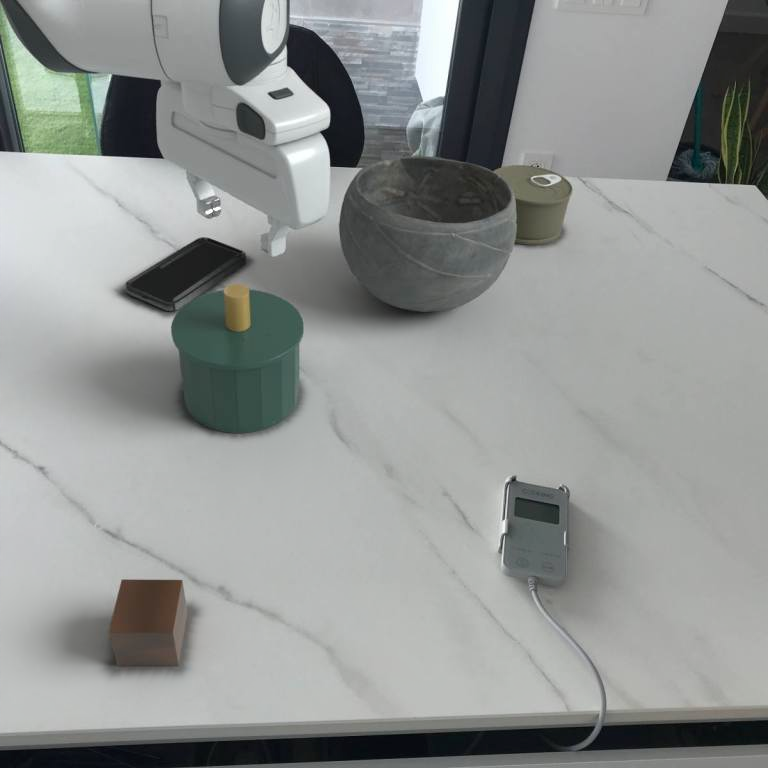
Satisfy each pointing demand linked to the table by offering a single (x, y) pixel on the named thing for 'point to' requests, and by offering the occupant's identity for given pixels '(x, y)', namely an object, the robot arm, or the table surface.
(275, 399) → the tin
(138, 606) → the block
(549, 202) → the can
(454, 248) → the bowl
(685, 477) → the table surface
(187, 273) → the phone
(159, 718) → the table surface
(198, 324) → the tin lid
